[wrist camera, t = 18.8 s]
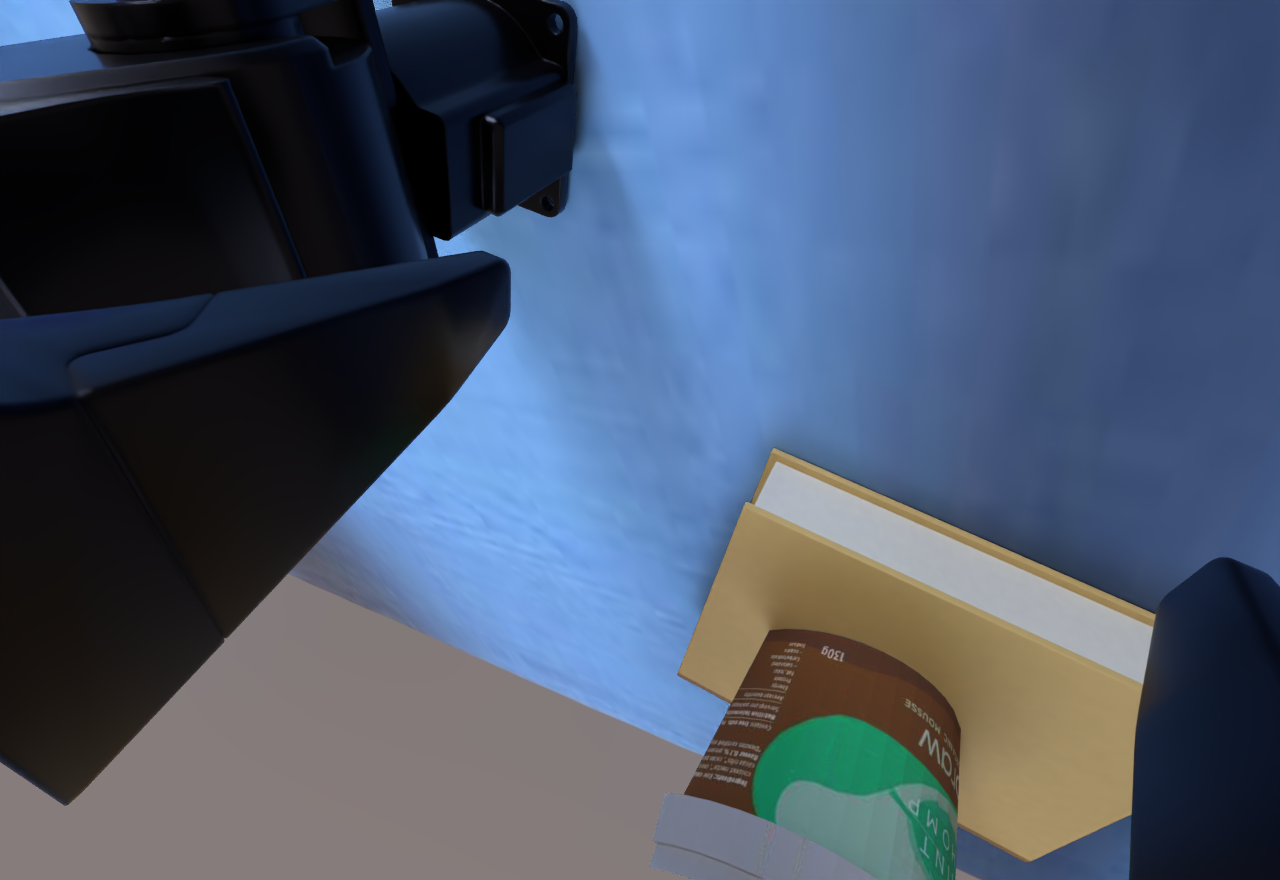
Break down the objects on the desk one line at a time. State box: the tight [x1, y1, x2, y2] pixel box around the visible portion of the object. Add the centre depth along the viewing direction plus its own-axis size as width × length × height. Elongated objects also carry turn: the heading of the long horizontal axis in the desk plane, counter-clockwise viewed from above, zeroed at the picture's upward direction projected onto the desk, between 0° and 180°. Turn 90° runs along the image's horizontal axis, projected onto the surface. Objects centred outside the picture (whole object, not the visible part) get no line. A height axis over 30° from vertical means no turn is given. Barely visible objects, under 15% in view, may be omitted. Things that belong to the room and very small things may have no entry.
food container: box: [649, 629, 961, 880], centre depth 23 cm, size 12×6×10 cm, turn 46°
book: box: [677, 448, 1156, 863], centre depth 28 cm, size 17×13×4 cm
